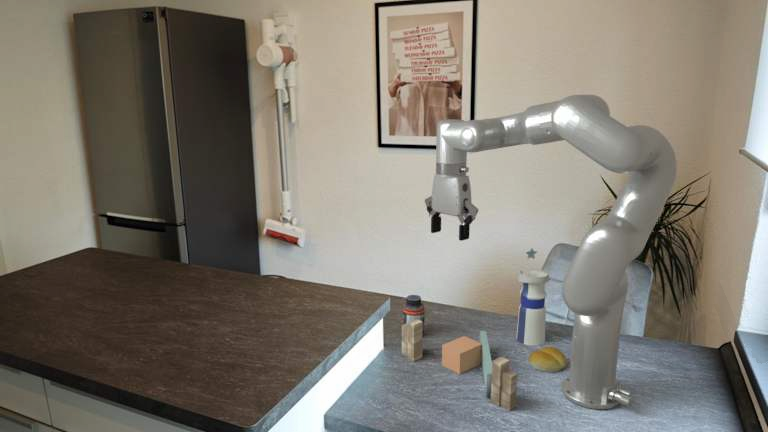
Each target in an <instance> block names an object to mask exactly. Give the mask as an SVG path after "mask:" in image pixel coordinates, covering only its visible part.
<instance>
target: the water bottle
mask: <svg viewBox="0 0 768 432" xmlns="http://www.w3.org/2000/svg"><path fill="white" fill-rule="evenodd" d="M525 253H526V254H527V257H526V259H527V260H529V259H531V258H532V260H533V259H535V255H536V254H537V253H538V251H535V250H534V249H533V248H532V247H531V249H530V250H529V251H526V252H525ZM550 280H551V278H550V274H549V272H547V271H546V270H544V269H540V268H534V267H533V268H530V269H529V275H526V274H524V273H523V271H522V270H519V272H518V283H519V282H520V283H522V287H521V290H520V291H519V300H520V304H519V307H518V317H517V328H516V334H515V336H516V337H515V339H516V340H517V342H518V343H521V344H523V345H526V346H530V347H534V346H535V347H536V346H541V345H543V344H546V343H545V342H546V320H547V318H546V317H547V310H546V306H545V302H546V301H545V300H546V297H547V296H548V294H547V292H546V288H545V287H546V283H548V282H550Z"/></svg>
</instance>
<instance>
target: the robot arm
mask: <svg viewBox="0 0 768 432" xmlns="http://www.w3.org/2000/svg"><path fill="white" fill-rule="evenodd" d="M561 141H565V142H567V143H568V144H570V145H571V146H572V147H574V148H575V149H576V150H578V151H579V152H580V153H582V154H584V156H586V157H588V158H589V159H590V160H592V161H594V162H595V163H596V164H597V165H599V166H601V167H603V168H604V169H606V170H608V171H610V172H612V173H616V174H627V175H628V176H627V178H626V180H625V182H624V183H623V185H622V187H621V189H620V190H619V192H618V194H617V197H616V199H615V202H614V203H613V205H612V207H611V210H610V211H609V212H608V215H606V217H605V218H604V219H602V221H600V222H598V223H597V224H595V225H594V226H592V227H591V228H590V229H589V230H588V231H587V232H586V234H585V235H584V236H583V238H582V240H581V242H580V244H579V246H578V247H577V250H576V251H575V252H576V253H575V254H574V256H573V258H572V261H571V264H570V265H569V267H568V270H567V272H566V274H565V276H564V278H563V281H562V285H561V295H562V299H563V303H564V304H565V305H566V307H567V308H568V309H569V310H570V311H571V312H572V313H574V316H573V317H574V318H573V328H572V336H571V337H572V340H571V353H570V361H569V362H570V365H569V376H568V377H566V378H565V379H563V381H562V382H561V386H560V389H561V393H562V394H563V396H564V397H565V398H566V399H568V400H569V401H570V402H572V403H574V404H576V405H578V406H580V407H584V408H588V409H593V410H607V409H609V410H610V409H612V408H615V407H617V406H619V405H620V404H622V405H625V406H627V407H630V406H631V405H632V401H633V398H632V392H631V391H629V390H627V389H624V388H622V387H621V386H620V384H621V383H620V382H621V380H620V379H618V378H617V377H616V375H617V368H618V367H617V366H618V365H617V364H618V357H619V348H620V347H619V346H620V337H621V329H622V320H623V319H622V318H623V314H624V313H623V312H624V308H625V305H626V304H625V303H626V298H627V293H628V287H629V286H628V285H629V281H628V280H629V279H628V273H627V268H628V267H629V265H630V263H632V262H633V261H634V260H635V259H637V258H638V257H639V256H640V255H641V254H642V252H643V251H644V248H645V247H646V244H647V241H648V240H649V237H650V235H651V233H652V231H653V230H654V228H655V226H656V223H657V221H658V220H659V217H660V215H661V214H662V211H663V209H664V207H665V205H666V203H667V201H668V198H669V196H670V194H671V193H672V190H673V187H674V184H675V182H676V176H677V171H678V170H677V169H678V168H677V167H678V163H677V156H676V153H675V150H674V148H673V146H672V144H671V143H670V141H669V140H668V139H667V137H666V136H665V135H664V134H663V133H661V132H660V131H659V130H657V129H656V128H654V127H651V126H649V125H640V124H639V125H636V124H635V125H630V126H627V125H625V124H623V123H622V122H620V121H619V120H617V119H615V118H613V117H612V116H611V111H610V107H609V104H608V103H607V102H606V101H605V99H603V98H602V97H600V96H598V95H595V94H573V95H568V96H566V97H564V98H562V99H560V100H559V99H558V100H556V101H550V102H544V103H541V104H540V103H539V104H535V105H531V106H529V107H527V108H526V109H525V110H524V111H522V112H518V113H517V112H516V113H513V114H509V115H505V116H504V115H503V116H498V117H491V118H481V119H471V120H463V119H457V118H456V119H453V118H451V119H441V120H439V121H438V122H437V124H436V144H435V145H436V151H435V153H436V156H435V160H436V161H435V162H436V163H435V168H436V169H435V174H434V177H433V182H432V189H431V196H428V197H426V198H425V199H424V204H425V206H426V211H427V213H428V214H429V215H428V216H429V218H430V232H431V233H432V234H436V233H439V232H441V231H442V216H441V214H443V215H446V216H447V215H448V216H450V217H451V216H452V217H457V219H458V220H459V223H460V224H459V227H458V229H459V230H458V240H459V241H461V242H462V241H465V240H469V239H470V230H471V228H470V227H471V226H470V225H471V224H472V223H473V221H474V220H475V219H476V218H477V215H478V213H479V208H478V207H477V206H475V205H474V204H473V203H472V189H471V188H472V187H471V181H470V176H469V175H467V173H469V171H470V170H469V169H470V168H469V167H468V166H467V160H468V158H467V156H468V155H467V153H479V152H484V151H485V152H486V151H490V150H497V149H504V148H509V147H515V146H520V145H521V146H522V145H528V144H529V145H532V146H537V145H543V144H549V143H554V142H561Z"/></svg>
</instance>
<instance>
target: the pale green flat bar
mask: <svg viewBox="0 0 768 432" xmlns="http://www.w3.org/2000/svg"><path fill="white" fill-rule="evenodd" d="M479 343H481V344H482V364H481V366H482V374H483V380H484V387H485V392H486V393H485V396H486V397H487V398H488V399H491V381H492V361H493V360H492V357H491V351H490V350H491V349H490V345H489V339H488V335H487V331H486V330H479Z"/></svg>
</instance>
